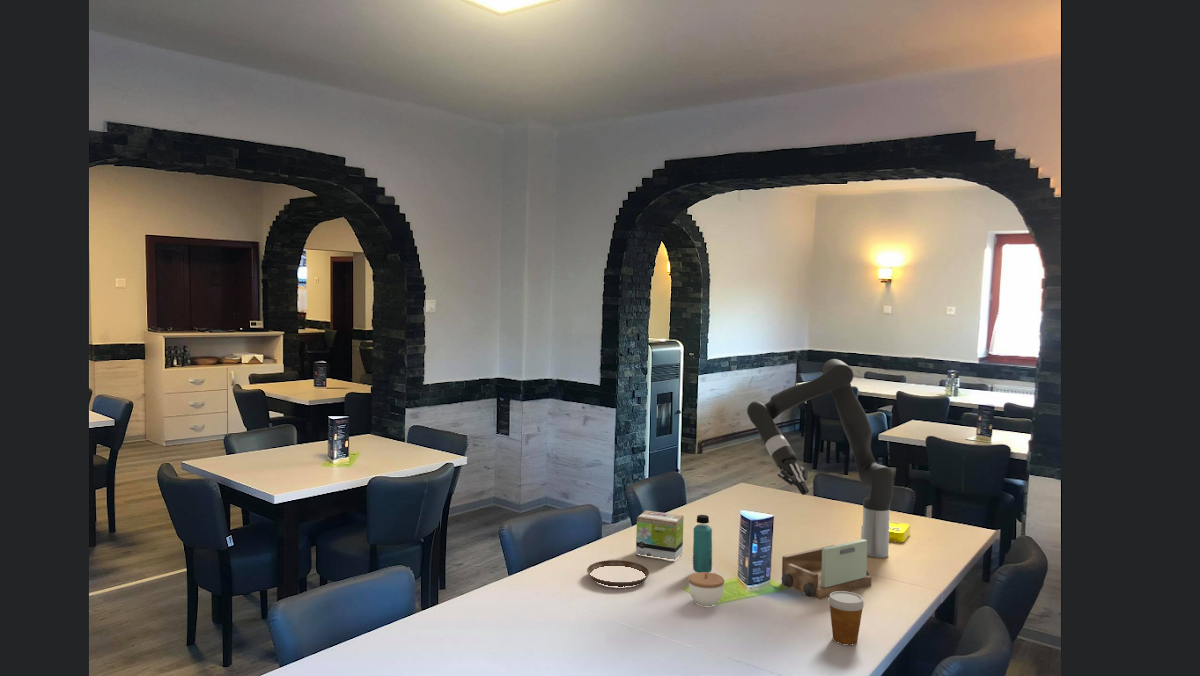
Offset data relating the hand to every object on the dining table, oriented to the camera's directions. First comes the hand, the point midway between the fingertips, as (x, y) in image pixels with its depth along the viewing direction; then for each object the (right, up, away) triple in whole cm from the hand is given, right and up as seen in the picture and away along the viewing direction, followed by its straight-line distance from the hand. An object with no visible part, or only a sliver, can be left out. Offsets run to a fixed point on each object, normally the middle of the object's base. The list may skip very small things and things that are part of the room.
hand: (805, 493), depth 256 cm
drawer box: (+5, -28, -7) cm, 30 cm away
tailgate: (+9, -26, -14) cm, 31 cm away
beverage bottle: (-35, -28, +1) cm, 45 cm away
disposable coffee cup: (-3, -30, -49) cm, 58 cm away
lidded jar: (-37, -29, -24) cm, 53 cm away
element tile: (+46, -27, +48) cm, 72 cm away
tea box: (-48, -27, +20) cm, 58 cm away
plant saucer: (-63, -28, -5) cm, 69 cm away
